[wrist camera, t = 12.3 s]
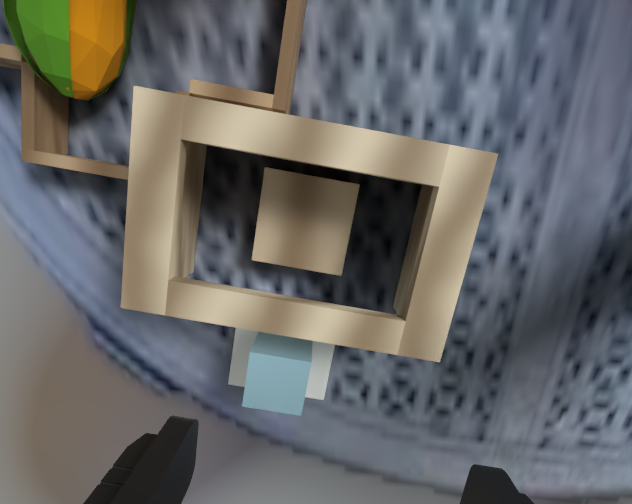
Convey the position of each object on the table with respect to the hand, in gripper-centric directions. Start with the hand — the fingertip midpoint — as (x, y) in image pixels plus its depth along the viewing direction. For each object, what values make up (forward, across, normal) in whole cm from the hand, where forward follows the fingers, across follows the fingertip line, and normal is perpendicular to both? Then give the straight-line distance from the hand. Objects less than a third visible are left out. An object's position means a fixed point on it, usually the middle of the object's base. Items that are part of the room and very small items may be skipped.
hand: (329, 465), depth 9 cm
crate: (+22, +3, -4) cm, 23 cm away
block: (+21, +3, +8) cm, 23 cm away
